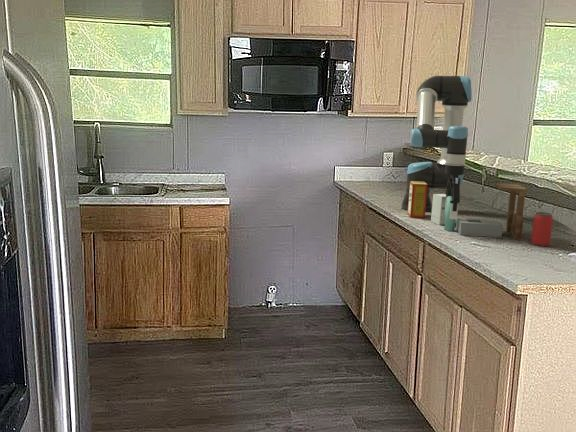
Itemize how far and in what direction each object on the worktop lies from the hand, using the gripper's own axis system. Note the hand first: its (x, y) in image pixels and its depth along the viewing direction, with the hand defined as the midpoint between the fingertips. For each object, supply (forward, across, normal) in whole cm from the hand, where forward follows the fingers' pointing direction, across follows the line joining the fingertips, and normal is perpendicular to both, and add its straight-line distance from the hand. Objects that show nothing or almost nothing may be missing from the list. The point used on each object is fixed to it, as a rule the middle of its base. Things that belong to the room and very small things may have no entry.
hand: (450, 216), depth 229 cm
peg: (+6, 0, 0) cm, 6 cm away
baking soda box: (+6, -28, -11) cm, 31 cm away
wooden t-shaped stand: (+6, +3, +22) cm, 22 cm away
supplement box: (+6, -14, -1) cm, 16 cm away
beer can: (+6, +17, +31) cm, 36 cm away
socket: (+6, +3, +11) cm, 13 cm away
